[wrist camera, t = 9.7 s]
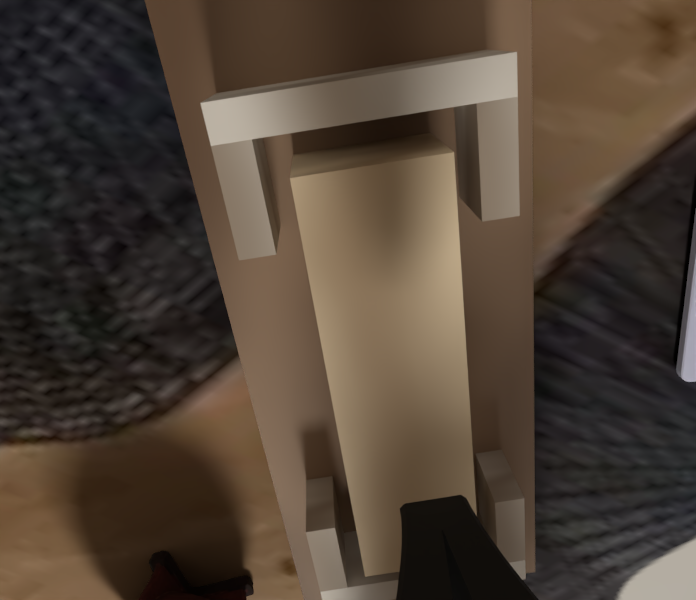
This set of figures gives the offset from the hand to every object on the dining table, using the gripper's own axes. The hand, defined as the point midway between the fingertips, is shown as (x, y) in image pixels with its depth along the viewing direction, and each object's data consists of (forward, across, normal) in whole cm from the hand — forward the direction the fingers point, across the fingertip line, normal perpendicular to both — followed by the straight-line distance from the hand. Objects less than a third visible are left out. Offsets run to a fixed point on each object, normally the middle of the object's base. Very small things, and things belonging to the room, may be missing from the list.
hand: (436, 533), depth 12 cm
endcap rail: (+9, 0, 0) cm, 9 cm away
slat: (+8, 0, 0) cm, 8 cm away
